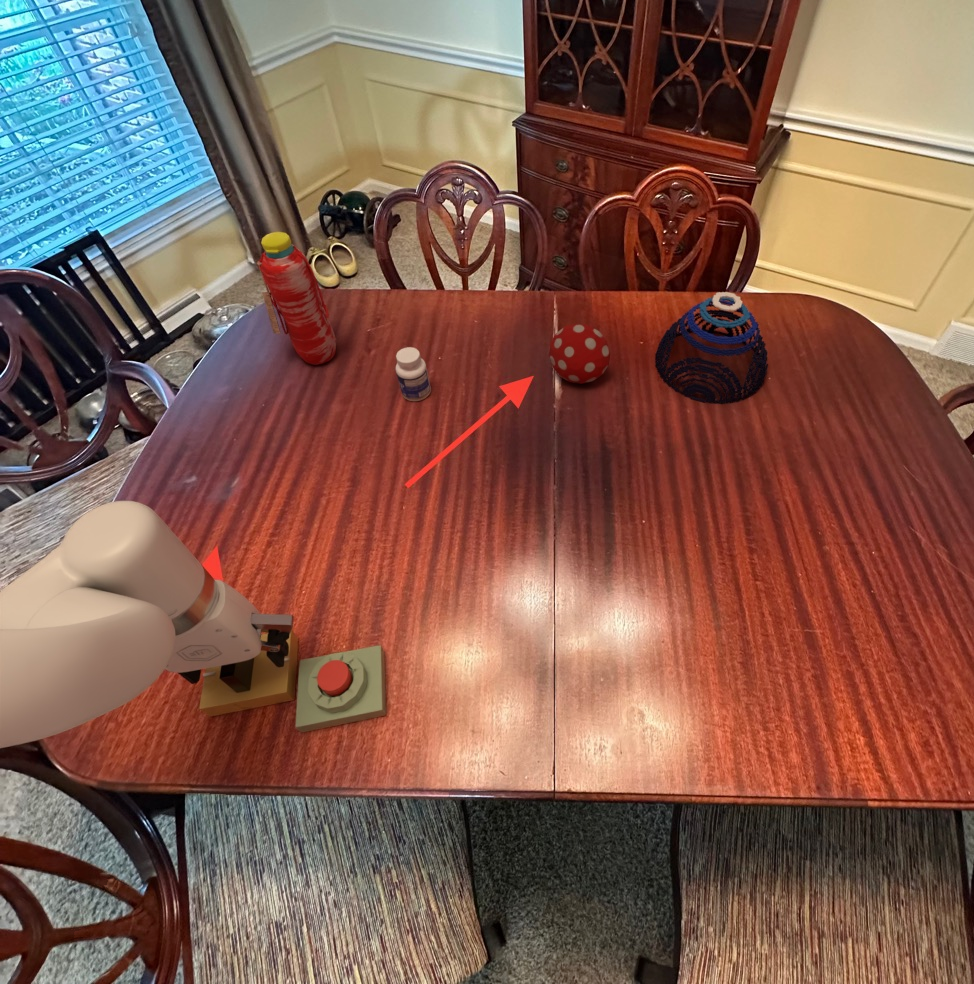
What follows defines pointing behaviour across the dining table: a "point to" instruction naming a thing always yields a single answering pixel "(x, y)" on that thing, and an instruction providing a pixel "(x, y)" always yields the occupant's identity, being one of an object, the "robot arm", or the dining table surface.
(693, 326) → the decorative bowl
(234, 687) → the block
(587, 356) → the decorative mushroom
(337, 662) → the release button
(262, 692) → the plate
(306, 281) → the water bottle
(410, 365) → the pill bottle
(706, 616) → the dining table surface
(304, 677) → the button block
